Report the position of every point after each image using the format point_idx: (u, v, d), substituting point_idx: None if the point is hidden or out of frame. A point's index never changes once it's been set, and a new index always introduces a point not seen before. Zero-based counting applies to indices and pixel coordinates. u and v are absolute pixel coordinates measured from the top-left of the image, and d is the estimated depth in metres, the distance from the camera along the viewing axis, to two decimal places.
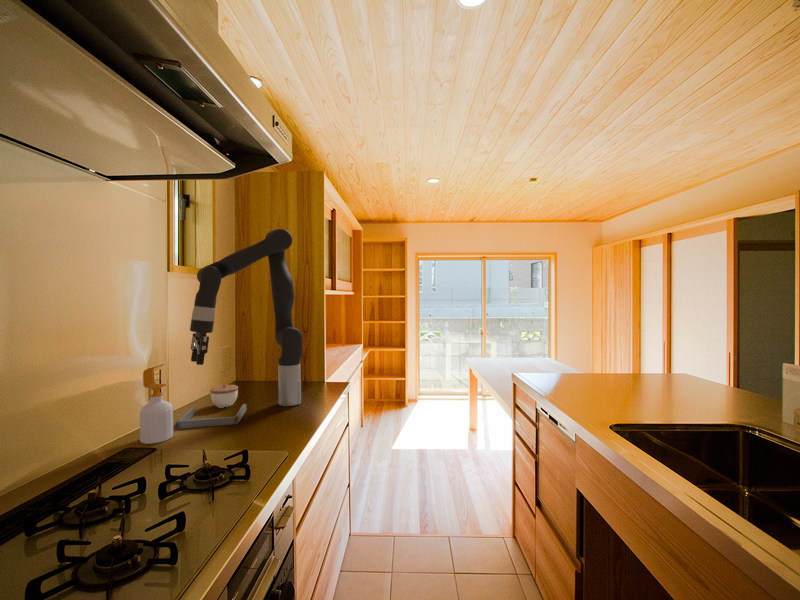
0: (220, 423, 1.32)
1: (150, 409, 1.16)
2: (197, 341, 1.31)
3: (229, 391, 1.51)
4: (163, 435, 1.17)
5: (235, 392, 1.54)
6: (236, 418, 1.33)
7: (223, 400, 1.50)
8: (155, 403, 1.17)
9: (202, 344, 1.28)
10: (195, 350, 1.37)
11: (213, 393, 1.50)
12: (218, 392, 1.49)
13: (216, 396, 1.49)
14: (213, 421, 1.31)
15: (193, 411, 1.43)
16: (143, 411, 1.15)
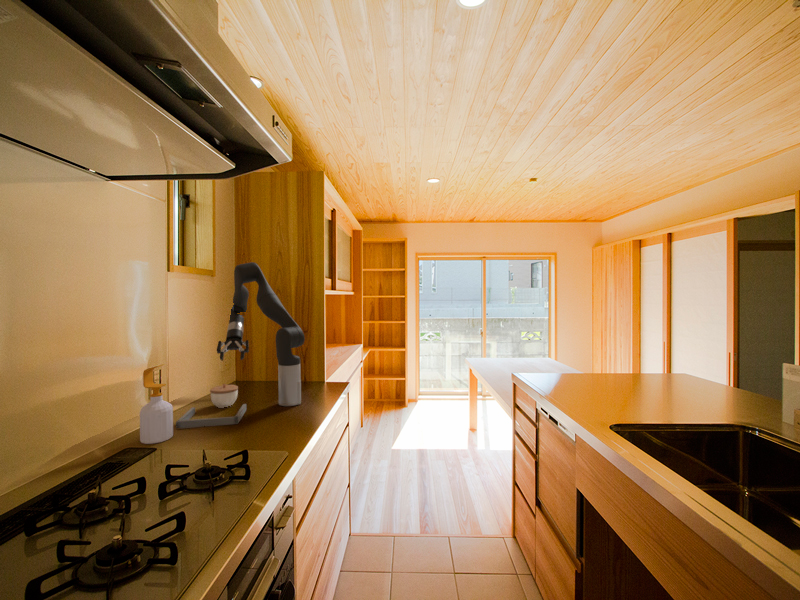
0: (220, 423, 1.32)
1: (150, 409, 1.16)
2: None
3: (229, 391, 1.51)
4: (163, 435, 1.17)
5: (235, 392, 1.54)
6: (236, 418, 1.33)
7: (223, 400, 1.50)
8: (155, 403, 1.17)
9: None
10: (241, 352, 1.78)
11: (213, 393, 1.50)
12: (218, 392, 1.49)
13: (216, 396, 1.49)
14: (213, 421, 1.31)
15: (193, 411, 1.43)
16: (143, 411, 1.15)
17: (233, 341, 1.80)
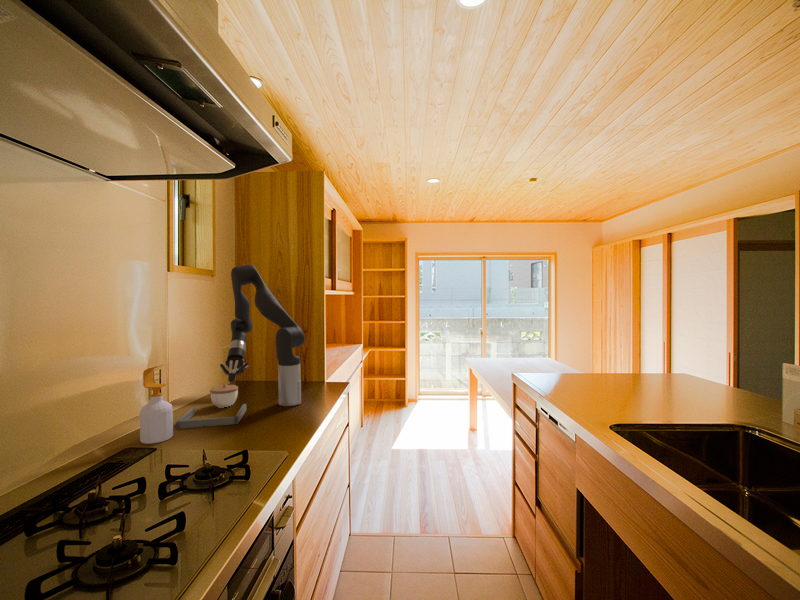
0: (220, 423, 1.32)
1: (150, 409, 1.16)
2: None
3: (229, 391, 1.51)
4: (163, 435, 1.17)
5: (235, 392, 1.54)
6: (236, 418, 1.33)
7: (223, 400, 1.50)
8: (155, 403, 1.17)
9: (223, 370, 1.71)
10: None
11: (213, 393, 1.50)
12: (218, 392, 1.49)
13: (216, 396, 1.49)
14: (213, 421, 1.31)
15: (193, 411, 1.43)
16: (143, 411, 1.15)
17: (234, 360, 1.74)
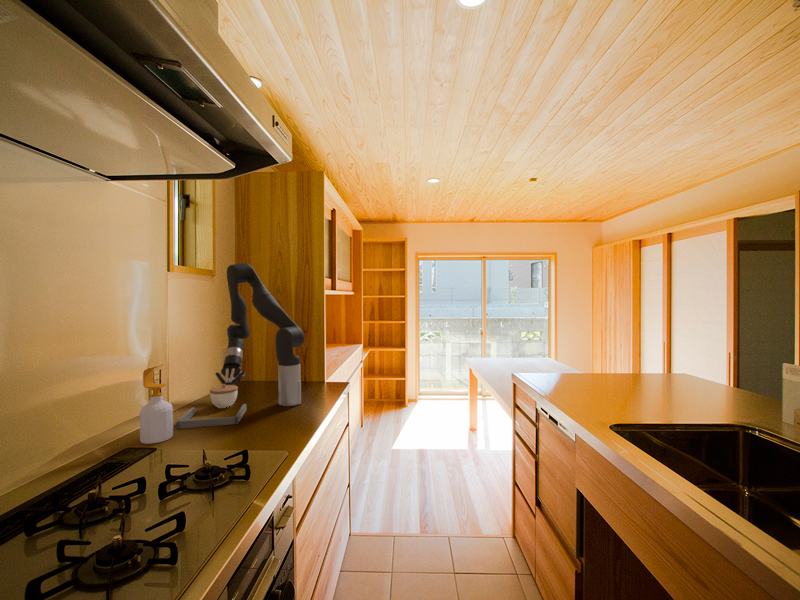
0: (220, 423, 1.32)
1: (150, 409, 1.16)
2: None
3: (229, 391, 1.50)
4: (163, 435, 1.17)
5: (235, 392, 1.53)
6: (236, 418, 1.33)
7: (223, 400, 1.49)
8: (155, 403, 1.17)
9: (219, 379, 1.64)
10: None
11: (213, 393, 1.49)
12: (218, 392, 1.49)
13: (216, 396, 1.49)
14: (213, 421, 1.31)
15: (193, 411, 1.43)
16: (143, 411, 1.15)
17: (230, 368, 1.66)
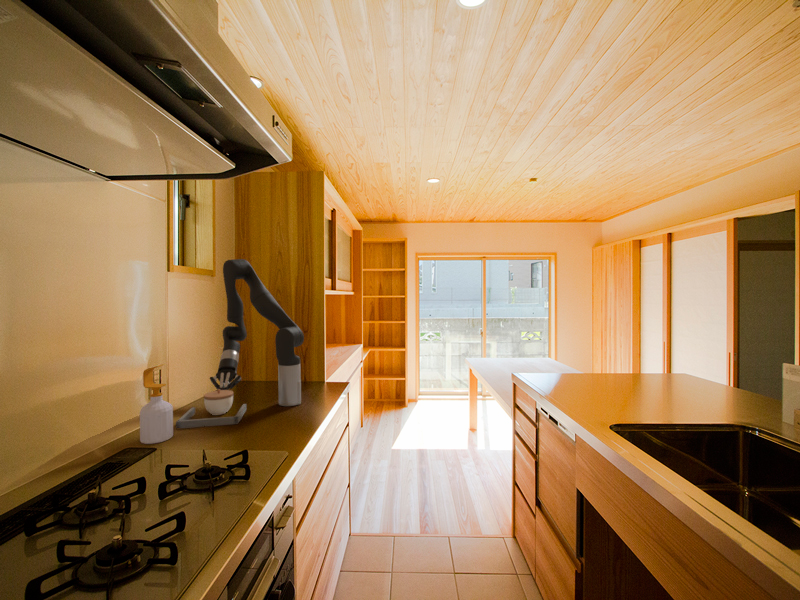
0: (220, 423, 1.32)
1: (150, 409, 1.16)
2: None
3: (224, 397, 1.42)
4: (163, 435, 1.17)
5: (231, 398, 1.45)
6: (236, 418, 1.33)
7: (218, 406, 1.41)
8: (155, 403, 1.17)
9: (213, 384, 1.55)
10: None
11: (207, 399, 1.41)
12: (213, 398, 1.40)
13: (210, 402, 1.40)
14: (213, 421, 1.31)
15: (193, 411, 1.43)
16: (143, 411, 1.15)
17: (226, 373, 1.58)
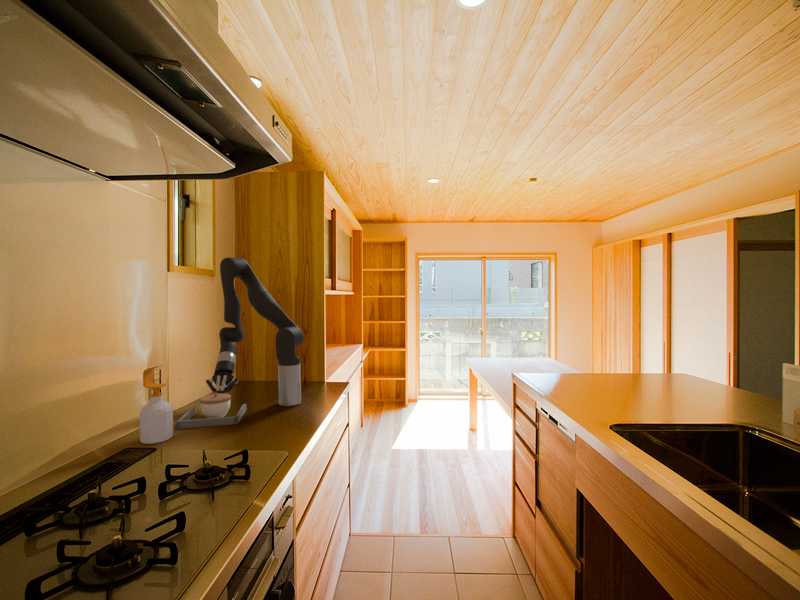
0: (220, 423, 1.32)
1: (150, 409, 1.16)
2: None
3: (222, 401, 1.37)
4: (163, 435, 1.17)
5: (228, 401, 1.40)
6: (236, 418, 1.33)
7: (216, 411, 1.36)
8: (155, 403, 1.17)
9: (209, 387, 1.50)
10: None
11: (204, 403, 1.35)
12: (210, 402, 1.35)
13: (208, 407, 1.35)
14: (213, 421, 1.31)
15: (193, 411, 1.43)
16: (143, 411, 1.15)
17: (222, 375, 1.52)
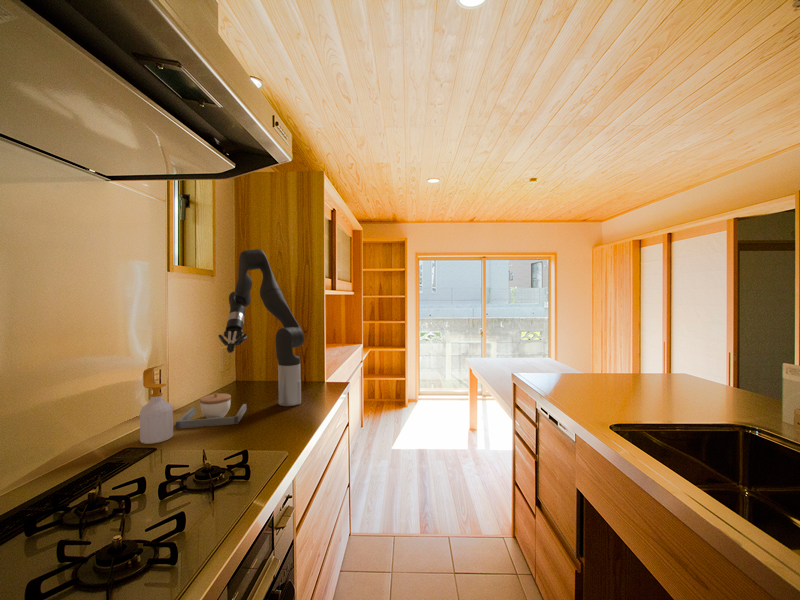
0: (220, 423, 1.32)
1: (150, 409, 1.16)
2: None
3: (222, 401, 1.37)
4: (163, 435, 1.17)
5: (228, 401, 1.40)
6: (236, 418, 1.33)
7: (216, 411, 1.36)
8: (155, 403, 1.17)
9: (221, 341, 1.70)
10: None
11: (204, 404, 1.35)
12: (210, 402, 1.35)
13: (208, 407, 1.35)
14: (213, 421, 1.31)
15: (193, 411, 1.43)
16: (143, 411, 1.15)
17: (233, 331, 1.72)
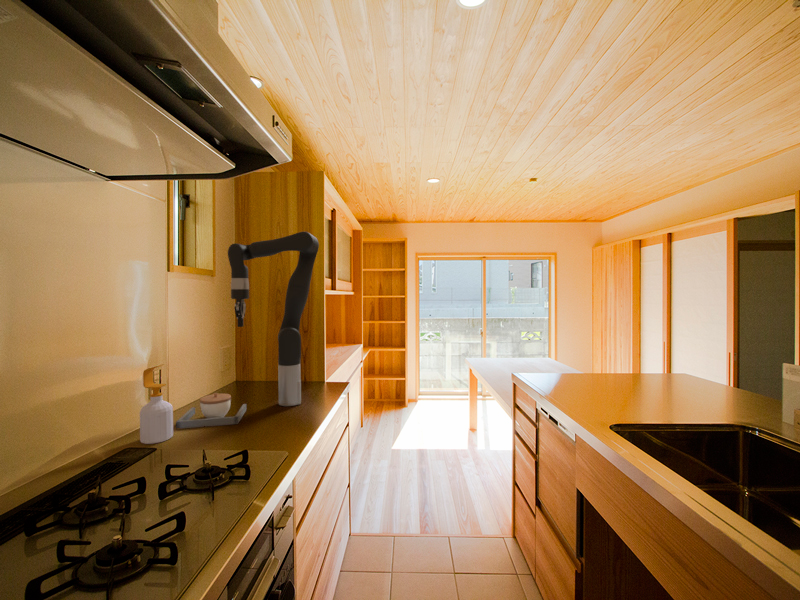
0: (220, 423, 1.32)
1: (150, 409, 1.16)
2: None
3: (222, 401, 1.37)
4: (163, 435, 1.17)
5: (228, 401, 1.40)
6: (236, 418, 1.33)
7: (216, 411, 1.36)
8: (155, 403, 1.17)
9: (236, 312, 1.59)
10: None
11: (204, 404, 1.35)
12: (210, 402, 1.35)
13: (208, 407, 1.35)
14: (213, 421, 1.31)
15: (193, 411, 1.43)
16: (143, 411, 1.15)
17: (242, 302, 1.64)
